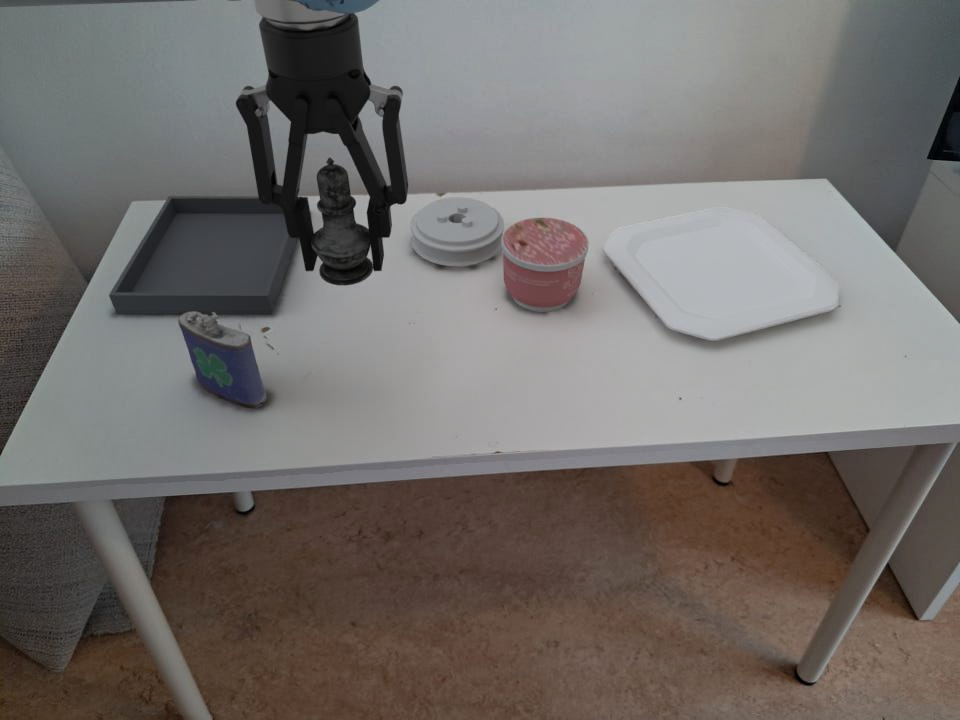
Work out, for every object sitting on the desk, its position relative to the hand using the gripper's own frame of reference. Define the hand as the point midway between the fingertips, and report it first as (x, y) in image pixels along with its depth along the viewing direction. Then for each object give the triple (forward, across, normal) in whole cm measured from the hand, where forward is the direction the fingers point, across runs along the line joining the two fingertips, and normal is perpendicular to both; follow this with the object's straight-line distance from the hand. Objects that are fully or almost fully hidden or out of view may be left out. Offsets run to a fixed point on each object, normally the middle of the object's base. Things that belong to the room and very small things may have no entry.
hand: (345, 262), depth 71 cm
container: (+16, -21, -15) cm, 30 cm away
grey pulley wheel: (+16, -10, -26) cm, 32 cm away
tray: (+15, +22, -22) cm, 35 cm away
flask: (+16, +14, +2) cm, 21 cm away
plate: (+16, -44, -19) cm, 50 cm away
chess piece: (+1, 0, 0) cm, 1 cm away
